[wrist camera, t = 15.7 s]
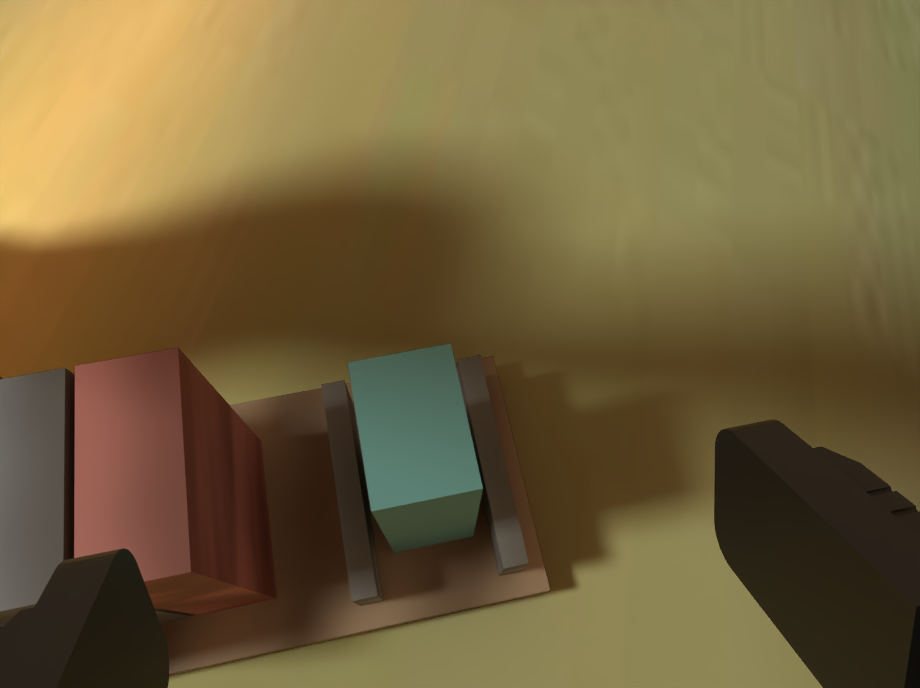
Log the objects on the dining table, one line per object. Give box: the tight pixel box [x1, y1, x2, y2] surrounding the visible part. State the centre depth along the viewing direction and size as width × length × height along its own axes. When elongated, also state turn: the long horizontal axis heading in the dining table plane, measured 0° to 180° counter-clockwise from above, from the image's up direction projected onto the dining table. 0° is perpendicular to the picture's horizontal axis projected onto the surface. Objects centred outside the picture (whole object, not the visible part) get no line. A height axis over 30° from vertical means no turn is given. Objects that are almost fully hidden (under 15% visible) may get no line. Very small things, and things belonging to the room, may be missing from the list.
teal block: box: [348, 343, 483, 553], centre depth 28 cm, size 4×5×10 cm
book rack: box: [0, 348, 550, 675], centre depth 27 cm, size 20×11×12 cm, turn 102°
